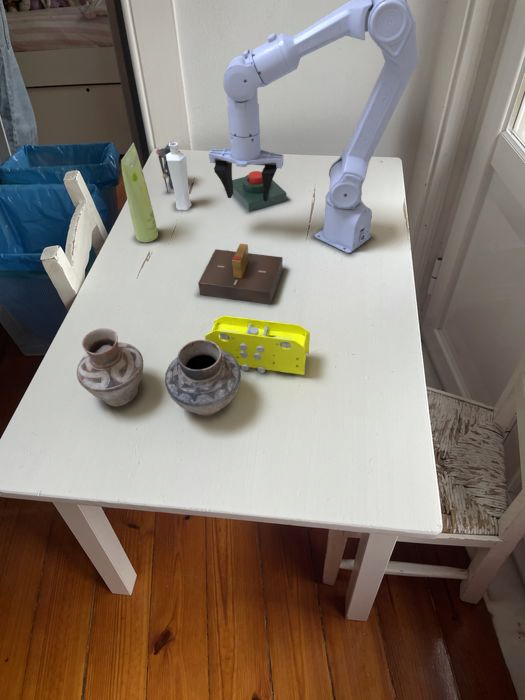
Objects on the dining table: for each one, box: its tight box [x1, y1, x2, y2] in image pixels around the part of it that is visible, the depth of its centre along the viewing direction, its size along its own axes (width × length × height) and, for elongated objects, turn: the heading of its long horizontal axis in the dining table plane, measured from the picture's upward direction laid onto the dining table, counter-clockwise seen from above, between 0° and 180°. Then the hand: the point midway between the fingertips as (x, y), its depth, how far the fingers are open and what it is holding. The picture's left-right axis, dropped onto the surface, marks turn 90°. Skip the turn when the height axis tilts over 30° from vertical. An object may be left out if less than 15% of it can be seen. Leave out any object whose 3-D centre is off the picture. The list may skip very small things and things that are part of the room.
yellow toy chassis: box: [204, 315, 311, 376], centre depth 78 cm, size 16×6×8 cm, turn 78°
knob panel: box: [197, 248, 283, 305], centre depth 95 cm, size 14×11×3 cm
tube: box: [120, 142, 159, 243], centre depth 100 cm, size 6×5×20 cm
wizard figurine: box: [155, 141, 181, 193], centre depth 118 cm, size 8×6×12 cm
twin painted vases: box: [76, 327, 242, 416], centre depth 72 cm, size 11×25×12 cm, turn 82°
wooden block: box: [232, 243, 249, 278], centre depth 92 cm, size 6×2×4 cm, turn 166°
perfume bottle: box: [166, 141, 192, 211], centre depth 111 cm, size 5×4×15 cm
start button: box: [247, 170, 263, 184], centre depth 115 cm, size 4×4×2 cm
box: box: [232, 174, 287, 213], centre depth 117 cm, size 12×10×4 cm
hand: (248, 197), depth 101 cm, fingers open, 7 cm apart
